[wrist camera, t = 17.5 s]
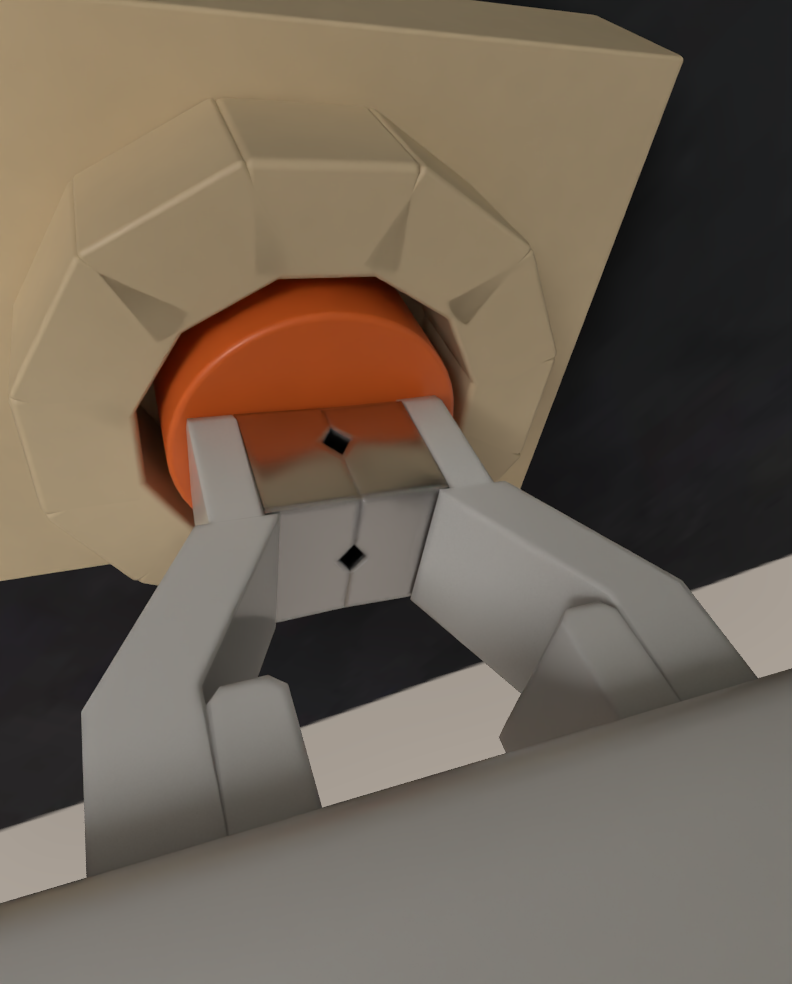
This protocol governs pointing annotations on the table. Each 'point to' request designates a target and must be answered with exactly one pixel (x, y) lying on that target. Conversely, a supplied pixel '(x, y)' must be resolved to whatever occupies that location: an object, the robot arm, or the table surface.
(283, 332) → the power button
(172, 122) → the switch base
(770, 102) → the table surface
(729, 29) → the table surface
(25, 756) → the table surface
